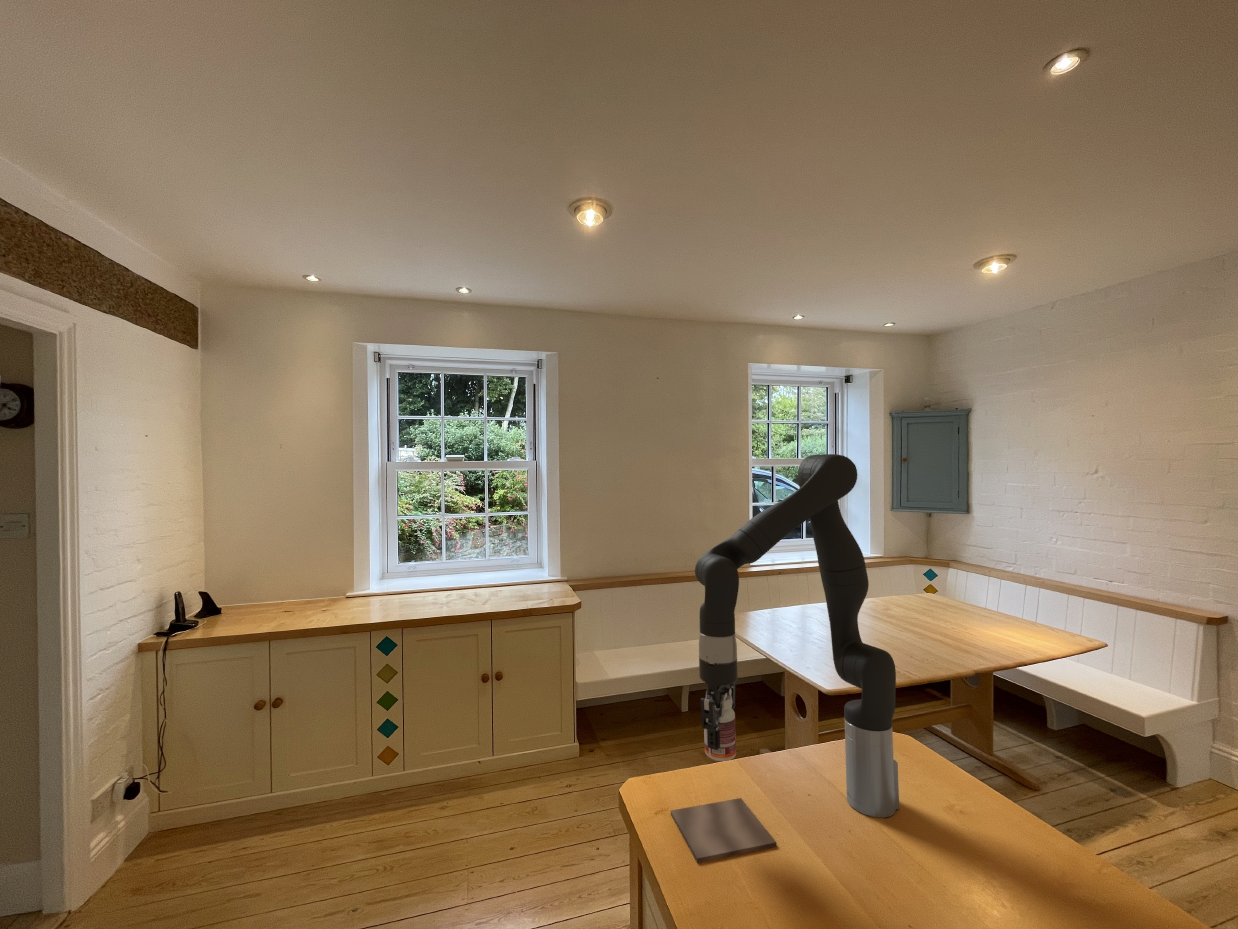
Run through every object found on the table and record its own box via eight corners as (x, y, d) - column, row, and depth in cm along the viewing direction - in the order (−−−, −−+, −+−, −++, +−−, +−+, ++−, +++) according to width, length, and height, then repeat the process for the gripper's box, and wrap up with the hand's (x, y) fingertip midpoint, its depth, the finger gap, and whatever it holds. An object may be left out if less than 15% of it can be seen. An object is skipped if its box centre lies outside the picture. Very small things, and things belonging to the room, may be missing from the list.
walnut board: (741, 801, 109) (740, 798, 109) (776, 846, 95) (776, 842, 95) (670, 814, 105) (670, 810, 105) (697, 863, 91) (697, 858, 91)
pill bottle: (742, 756, 100) (741, 697, 100) (720, 766, 96) (718, 705, 97) (720, 743, 105) (719, 687, 105) (698, 752, 101) (696, 694, 102)
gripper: (712, 642, 109) (714, 721, 109) (686, 663, 97) (688, 752, 96) (746, 648, 106) (748, 730, 105) (724, 669, 93) (726, 763, 92)
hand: (719, 740), depth 101 cm, fingers closed on pill bottle, 6 cm apart
